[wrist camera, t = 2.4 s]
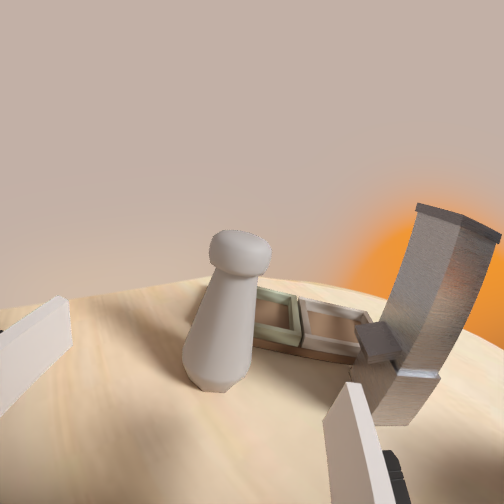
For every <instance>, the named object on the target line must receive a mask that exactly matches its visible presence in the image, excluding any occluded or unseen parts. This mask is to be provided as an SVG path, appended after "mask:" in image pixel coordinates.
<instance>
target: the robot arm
mask: <svg viewBox="0 0 504 504" xmlns="http://www.w3.org/2000/svg"><path fill="white" fill-rule="evenodd" d="M72 346H73V342H72V333H71V323H70V310H69V300H68V299H65V298H63V297H61V296H59V295H57V296H55V297H54V298H52V299H51V300H49V301H48V302H46V303H45V304H43V305H42V306H40V307H38V308H37V309H35V310H34V311H32V312H31V313H29V314H28V315H27V316H25V317H24V318H22V319H21V320H19V321H18V322H16V323H15V324H13V325H12V326H11V327H9V328H8V329H6V330H5V331H3V330H0V417H1V416H2V415H3V414H4V413H5V412H6V411H7V410H8V409H9V408H10V407H11V406H12V405H13V404H14V403H15V402H16V401H17V400H18V398H19V397H20V396H21V395H22V394H23V393H24V392H25V391H26V390H27V389H28V388H29V387H30V386H31V385H32V384H33V383H34V382H35V381H36V380H37V379H38V378H39V377H40V376H41V375H42V374H43V373H44V372H45V371H46V370H47V369H48V368H50V367H51V366H52V365H53V364H54V363H55V362H56V361H57V360H58V359H59V358H60V357H61V356H62V355H63V354H64V353H65V352H66V351H67V350H68V349H69V348H71V347H72ZM322 422H323V430H324V438H325V446H326V454H327V463H328V472H329V482H330V492H331V504H411V501H410V498H409V494H408V491H407V487H406V484H405V480H403V478H404V477H403V473H402V472H401V467H400V464H399V460H398V459H397V457H396V456H395V455H394V453H393V452H392V451H391V450H382V449H381V446H380V442H379V439H378V435H377V432H376V429H375V426H374V422H373V419H372V416H371V413H370V410H369V406H368V403H367V400H366V397H365V394H364V391H363V388H362V385H361V384H360V383H352V382H345V384H344V386H343V388H342V389H341V391H340V393H339V395H338V396H337V398H336V400H335V401H334V403H333V405H332V406H331V408H330V409H329V411H328V413H327V414H326V416H325V417H324V419H323V421H322Z"/></svg>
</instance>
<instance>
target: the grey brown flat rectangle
mask: <svg viewBox="0 0 504 504" xmlns="http://www.w3.org/2000/svg"><path fill="white" fill-rule="evenodd" d="M368 323H373V321H372V319H371V318H370V316H369V314H368V313H367V311H362V310H357V309H353V308H348V307H343V306H339V305H334V304H330V303H325V302H321V301H317V300H312V299H308V298H304V297H299V298H298V301H297V297H296V296H295V295H291V294H287V293H283V292H278V291H274V290H270V289H266V288H262V287H258V286H257V295H256V308H255V320H254V333H253V346H255V347H260V348H264V349H269V350H273V351H278V352H282V353H287V354H292V355H297V356H302V357H308V358H313V359H319V360H324V361H330V362H336V363H343V364H349V365H353V364H354V362H355V360H356V358H357V356H358V354H359V352H360V350H361V347H360V345H359V343H358V340H357V338H356V336H355V333H354V327H355V325H361V324H368Z"/></svg>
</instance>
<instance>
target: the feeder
mask: <svg viewBox="0 0 504 504" xmlns="http://www.w3.org/2000/svg"><path fill="white" fill-rule="evenodd" d="M415 211H417V212H418V213H417V217H416V221H415V224H414V228H413V231H412V234H411V237H410V240H409V243H408V247H407V250H406V253H405V256H404V259H403V261H402V264H401V267H400V270H399V273H398V275H397V278H396V281H395V283H394V286H393V288H392V291H391V294H390V296H389V298H388V301H387V303H386V306H385V308H384V311H383V313H382V315H381V317H380V320H379V322H375V323H368V324H361V325H355V327H354V333H355V336H356V338H357V340H358V343H359V345H360V347H361V350H360V352H359V354H358V356H357V358H356V360H355V362H354V364H353V366H352V368H351V369H350V371H349V373H350V377H351V380H352V383H360V384H361V385H362V388H363V391H364V394H365V397H366V400H367V403H368V406H369V410H370V413H371V416H372V419H373V422H374V425H380V426H401V425H408V424H409V423H410V422H411V421H412V419H413V418H414V417H415V415H416V414H417V413H418V411H419V410H420V409H421V407H422V406H423V405H424V403H425V402H426V400H427V399H428V398H429V396H430V395H431V393H432V392H433V390H434V389H435V387H436V386H437V384H438V383H439V381H440V380H441V377H440V376H439V374H438V372H439V371H440V369H441V367H442V366H443V364H444V362H445V360H446V359H447V357H448V355H449V353H450V352H451V350H452V348H453V346H454V344H455V342H456V341H457V339H458V337H459V335H460V333H461V331H462V329H463V327H464V325H465V322H466V321H467V318H468V316H469V314H470V312H471V310H472V307H473V305H474V303H475V301H476V298H477V296H478V293H479V291H480V288H481V286H482V283H483V281H484V278H485V275H486V272H487V270H488V267H489V264H490V261H491V258H492V255H493V252H494V248H495V245H496V243H497V244H499V243H500V239H501V236H502V234H500V233H498V232H496V231H494V230H493V229H491V228H489V227H487V226H485V225H483V224H481V223H479V222H477V221H475V220H473V219H470V218H468V217H466V216H464V215H462V214H458V213H455V212H451V211H448V210H444V209H440V208H437V207H433V206H429V205H424V204H421V203H417V206H416V210H415Z"/></svg>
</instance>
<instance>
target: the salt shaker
mask: <svg viewBox="0 0 504 504" xmlns="http://www.w3.org/2000/svg"><path fill="white" fill-rule="evenodd" d="M271 254H272V249H271V247H270V245H269V244H268V242H267V241H266V240H264V239H263V238H260V237H259V236H257V235H254V234H251V233H248V232H243V231H238V230H223V231H221V232H219V233H217V234H216V235H214V236H213V238H212V241H211V243H210V248H209V258H210V263H211V264H212V265H214V266H215V267H216V269H215V271H214V273H213V276H212V278H211V280H210V283H209V285H208V287H207V290H206V292H205V295H204V297H203V299H202V302H201V304H200V307H199V309H198V311H197V314H196V316H195V319H194V321H193V324H192V326H191V328H190V331H189V333H188V336H187V338H186V341H185V343H184V346H183V348H182V362H183V365H184V368H185V370H186V372H187V375H188V377H189V379H190V380H191V381H192V382H193V383H194V384H196V385H197V386H198V387H199V388H200V389H201V390H202V391H204V392H219V393H225V392H226V391H227V390H228V389H229V388H230V387H232V386H233V385H234V384H236V383H237V382H239V381H240V380H241V379H243V378H244V377H245V376H246V374H247V372H248V369H249V367H250V365H251V358H252V346H253V333H254V320H255V308H256V295H257V282H258V276H260V275H263V274H264V273H265V271H266V270H267V268H268V267H269V263H270V260H271Z"/></svg>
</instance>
